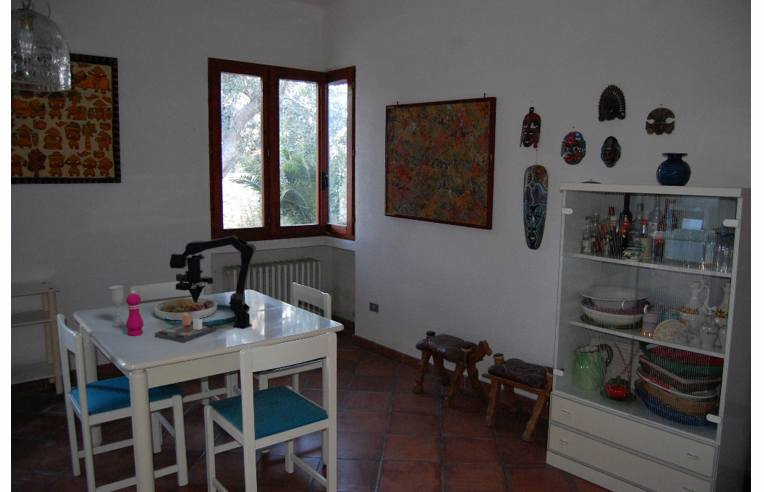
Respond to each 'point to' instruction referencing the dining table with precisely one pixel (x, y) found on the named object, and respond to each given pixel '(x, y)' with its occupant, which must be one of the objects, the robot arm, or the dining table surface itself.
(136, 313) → the pepper mill
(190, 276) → the robot arm
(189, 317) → the block
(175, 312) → the bowl
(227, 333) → the dining table surface
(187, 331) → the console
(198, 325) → the fader
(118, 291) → the chalice
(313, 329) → the dining table surface
